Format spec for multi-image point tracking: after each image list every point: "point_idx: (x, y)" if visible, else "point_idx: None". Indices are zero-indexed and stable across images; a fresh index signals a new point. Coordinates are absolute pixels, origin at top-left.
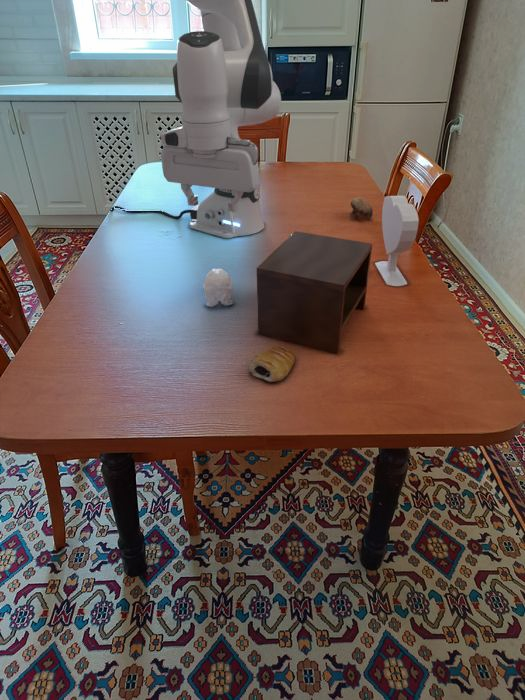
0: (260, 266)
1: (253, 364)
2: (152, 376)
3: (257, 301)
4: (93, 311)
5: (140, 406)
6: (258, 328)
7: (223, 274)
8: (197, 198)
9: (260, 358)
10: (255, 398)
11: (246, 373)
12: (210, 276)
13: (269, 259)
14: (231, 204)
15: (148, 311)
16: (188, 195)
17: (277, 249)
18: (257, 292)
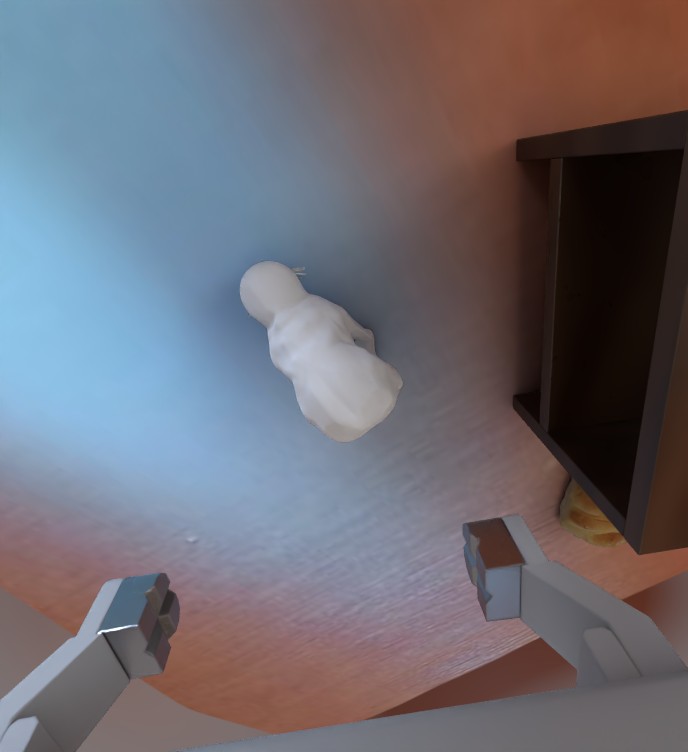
0: (649, 541)
1: (582, 538)
2: (392, 602)
3: (563, 466)
4: (85, 543)
5: (426, 646)
6: (521, 416)
7: (378, 407)
8: (148, 609)
9: (597, 531)
10: (592, 554)
11: (549, 518)
12: (344, 437)
13: (667, 485)
14: (517, 611)
15: (197, 477)
16: (114, 700)
17: (675, 392)
18: (581, 486)
